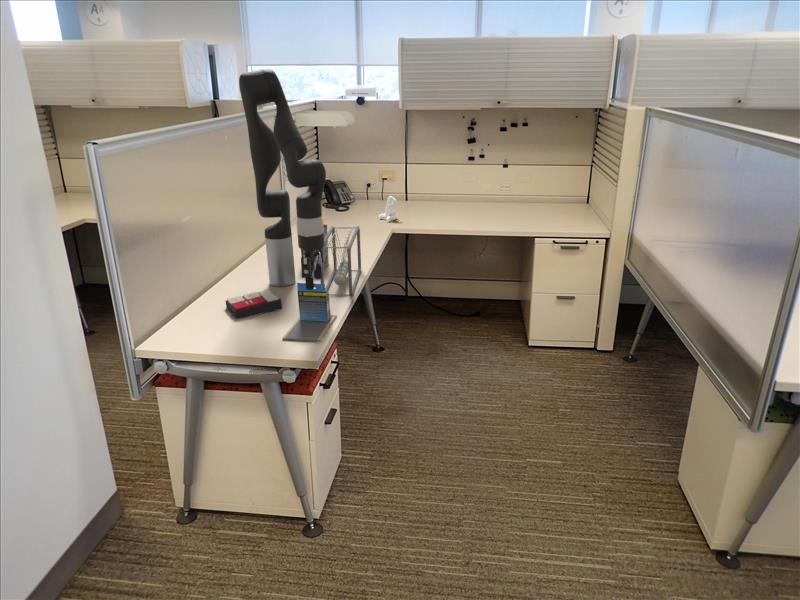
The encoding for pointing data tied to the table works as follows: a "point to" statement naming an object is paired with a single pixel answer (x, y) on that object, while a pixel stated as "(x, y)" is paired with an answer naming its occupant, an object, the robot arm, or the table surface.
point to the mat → (308, 330)
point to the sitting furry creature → (389, 210)
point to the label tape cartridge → (313, 303)
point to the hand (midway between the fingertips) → (314, 284)
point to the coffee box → (325, 250)
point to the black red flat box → (253, 304)
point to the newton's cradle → (344, 265)
